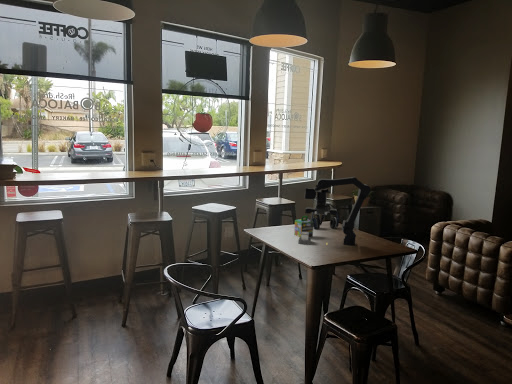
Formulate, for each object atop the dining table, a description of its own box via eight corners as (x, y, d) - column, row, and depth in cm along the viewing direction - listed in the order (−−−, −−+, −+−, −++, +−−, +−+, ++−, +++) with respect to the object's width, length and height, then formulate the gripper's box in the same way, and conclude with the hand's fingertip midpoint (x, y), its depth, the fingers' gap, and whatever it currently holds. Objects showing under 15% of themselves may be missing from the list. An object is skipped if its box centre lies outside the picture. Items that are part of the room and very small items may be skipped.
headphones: (313, 229, 278) (314, 204, 276) (309, 227, 285) (311, 202, 282) (339, 229, 282) (340, 204, 279) (335, 227, 289) (337, 202, 286)
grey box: (308, 241, 243) (308, 231, 242) (307, 243, 238) (308, 233, 237) (301, 241, 243) (302, 231, 243) (301, 243, 239) (301, 233, 238)
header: (310, 241, 244) (310, 237, 244) (309, 244, 236) (310, 241, 235) (299, 240, 245) (299, 236, 245) (298, 244, 237) (298, 240, 237)
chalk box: (305, 235, 263) (306, 213, 261) (313, 238, 255) (314, 216, 253) (293, 236, 259) (294, 214, 257) (301, 240, 251) (301, 217, 249)
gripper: (305, 201, 230) (303, 227, 232) (337, 202, 226) (336, 229, 229) (306, 198, 241) (305, 223, 243) (337, 199, 237) (336, 225, 240)
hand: (320, 225), depth 238 cm, fingers closed
